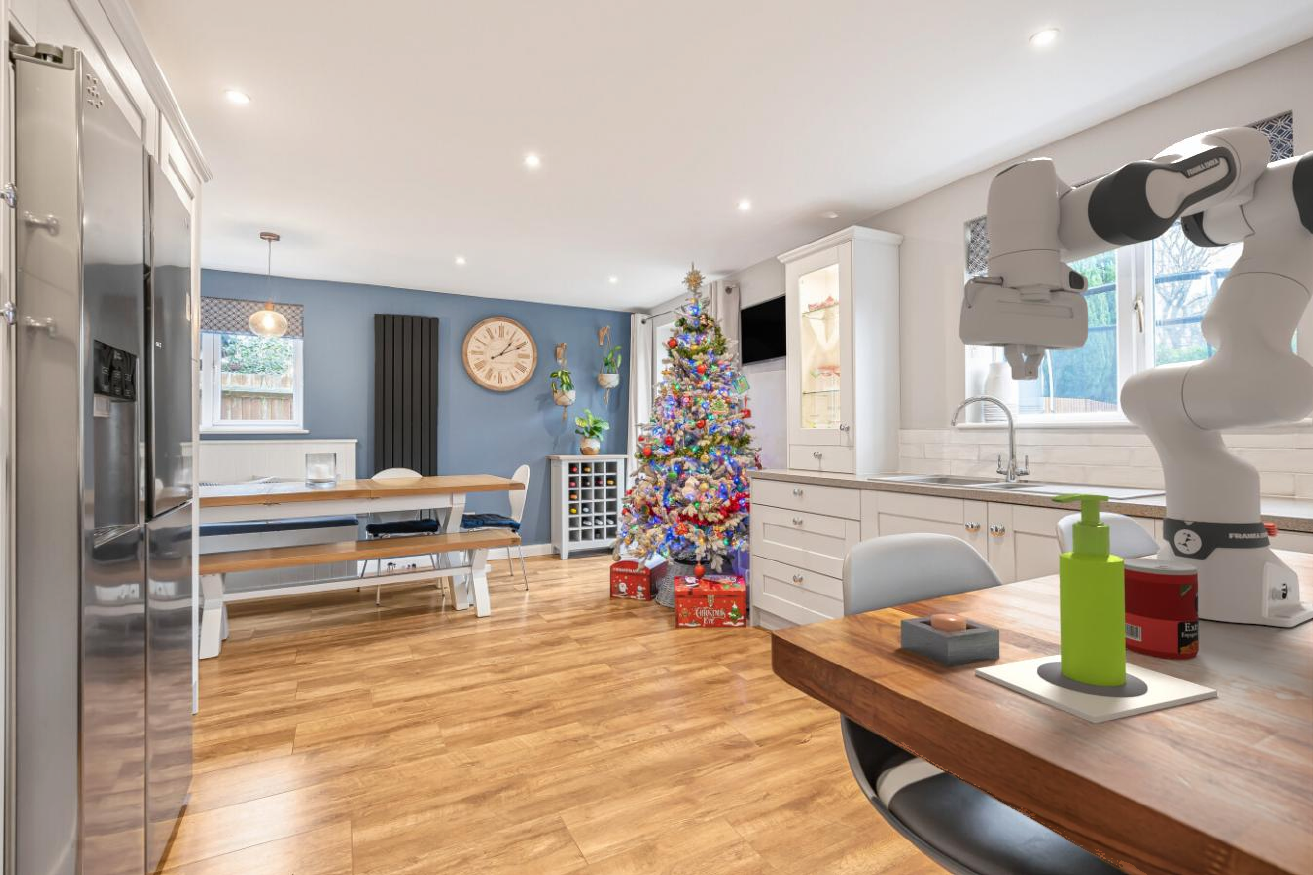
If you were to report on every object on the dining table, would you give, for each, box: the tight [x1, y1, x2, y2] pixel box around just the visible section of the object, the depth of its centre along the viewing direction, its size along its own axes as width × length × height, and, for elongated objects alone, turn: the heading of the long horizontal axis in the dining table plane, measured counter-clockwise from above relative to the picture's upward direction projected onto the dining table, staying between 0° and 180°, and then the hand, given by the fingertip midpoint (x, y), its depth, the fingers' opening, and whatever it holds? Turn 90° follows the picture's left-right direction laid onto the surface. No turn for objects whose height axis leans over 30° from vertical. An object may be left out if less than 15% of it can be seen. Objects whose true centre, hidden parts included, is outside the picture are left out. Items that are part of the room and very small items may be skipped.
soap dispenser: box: [1050, 492, 1127, 686], centre depth 71 cm, size 6×7×20 cm
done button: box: [930, 613, 967, 632], centre depth 82 cm, size 4×4×3 cm
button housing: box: [900, 615, 1000, 668], centre depth 82 cm, size 8×8×4 cm
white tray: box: [974, 654, 1218, 725], centre depth 70 cm, size 18×14×1 cm
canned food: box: [1123, 557, 1200, 661], centre depth 82 cm, size 8×8×11 cm
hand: (1024, 379), depth 89 cm, fingers closed
